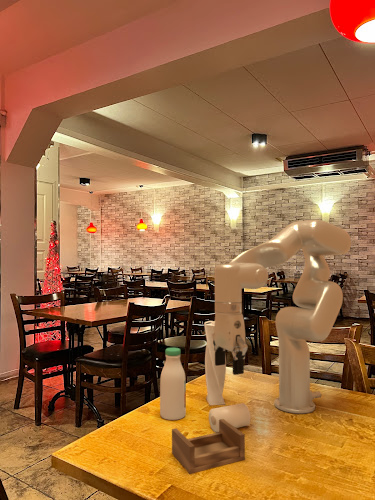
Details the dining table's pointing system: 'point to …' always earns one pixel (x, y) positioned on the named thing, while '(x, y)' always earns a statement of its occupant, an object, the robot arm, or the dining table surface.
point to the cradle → (209, 448)
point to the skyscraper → (213, 370)
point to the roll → (230, 416)
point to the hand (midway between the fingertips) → (228, 369)
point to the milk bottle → (172, 387)
